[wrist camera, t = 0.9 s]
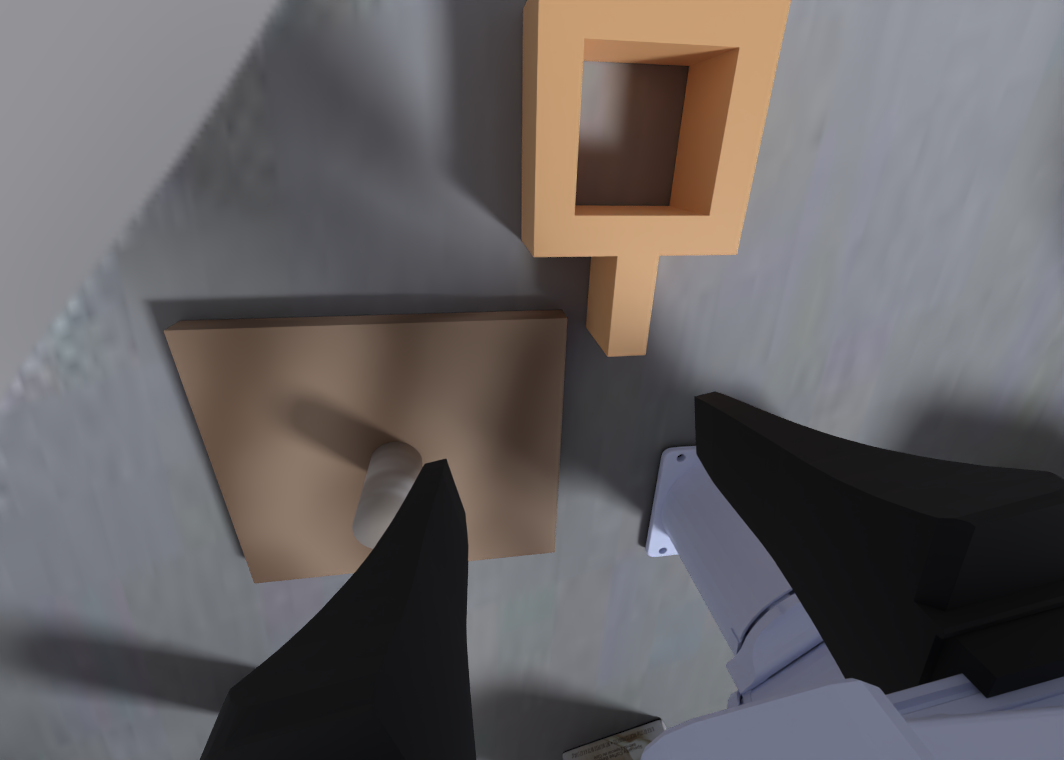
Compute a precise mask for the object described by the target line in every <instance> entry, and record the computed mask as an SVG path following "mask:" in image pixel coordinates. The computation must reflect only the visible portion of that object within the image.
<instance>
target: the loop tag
mask: <svg viewBox="0 0 1064 760" xmlns="http://www.w3.org/2000/svg"><path fill="white" fill-rule="evenodd" d="M790 3H791V0H527V2H526V4H525V6H524V8H523V83H522V221H521V241H522V242H523V243H524V245H525V246H526V247H527V249H528V250H529V251H530V253H531V254H532V255H533V257H588V256H591V265H590V279H589V292H588V306H587V319H586V328H587V330H588V331H589V332H590V334H591V335H592V336H593V338H594V339H595V340H596V342H597V343H598V344H599V346H600V347H601V348H602V350H603V351H604V352H605V354H606V355H607V357H614V356H637V355H646V348H647V341H648V333H649V326H650V319H651V312H652V305H653V297H654V290H655V283H656V276H657V269H658V261H659V256H672V255H737V252H738V247H739V242H740V238H741V233H742V228H743V224H744V219H745V214H746V210H747V205H748V200H749V195H750V191H751V186H752V181H753V177H754V172H755V167H756V163H757V158H758V153H759V148H760V144H761V139H762V134H763V130H764V125H765V120H766V116H767V111H768V106H769V101H770V97H771V92H772V87H773V83H774V78H775V73H776V69H777V64H778V59H779V54H780V50H781V45H782V40H783V36H784V31H785V26H786V22H787V17H788V12H789V8H790ZM583 61H598V62H618V63H638V64H658V65H679V66H689V71H688V78H687V85H686V92H685V99H684V107H683V114H682V121H681V128H680V135H679V142H678V149H677V156H676V163H675V170H674V177H673V184H672V191H671V198H670V205H669V206H597V205H575V198H576V180H577V162H578V144H579V127H580V109H581V91H582V73H583Z"/></svg>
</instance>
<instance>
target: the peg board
mask: <svg viewBox="0 0 1064 760" xmlns="http://www.w3.org/2000/svg"><path fill="white" fill-rule="evenodd" d="M567 319H568V318H567V317H566V315H565V314H564V312H563V311H562V310H536V311H501V312H466V313H431V314H396V315H361V316H325V317H290V318H255V319H220V320H185V321H179V322H177V323H175V324H174V325H172V326H170V327H169V328H167V329H165V330H164V334H165V336H166V339H167V342H168V345H169V348H170V350H171V353H172V356H173V359H174V361H175V364H176V367H177V370H178V373H179V375H180V378H181V381H182V384H183V386H184V389H185V392H186V395H187V398H188V400H189V403H190V406H191V409H192V411H193V414H194V417H195V420H196V423H197V425H198V428H199V431H200V434H201V436H202V439H203V442H204V445H205V448H206V450H207V453H208V456H209V459H210V461H211V464H212V467H213V470H214V473H215V475H216V478H217V481H218V484H219V486H220V489H221V492H222V495H223V498H224V500H225V503H226V506H227V509H228V511H229V514H230V517H231V520H232V523H233V525H234V528H235V531H236V534H237V536H238V539H239V542H240V545H241V548H242V550H243V553H244V556H245V559H246V561H247V564H248V567H249V570H250V573H251V575H252V578H253V581H254V583H263V582H272V581H282V580H292V579H301V578H311V577H321V576H330V575H340V574H349V573H355V572H356V570H357V569H358V568H359V567H360V565H361V564H362V563H363V562H364V560H365V559H366V558H367V557H368V555H369V554H370V553H371V551H372V550H373V548H374V547H375V546H376V544H377V543H378V541H379V540H380V538H381V537H382V535H383V534H384V532H385V531H386V529H387V528H388V526H389V525H390V523H391V522H392V520H393V518H394V517H395V515H396V513H397V512H398V510H399V508H400V507H401V505H402V503H403V501H404V500H405V498H406V496H407V494H408V493H409V491H410V489H411V487H412V485H413V484H414V482H415V480H416V478H417V476H418V474H419V473H420V471H421V469H422V467H423V466H424V464H426V463H430V462H434V461H438V460H442V459H447V462H448V465H449V468H450V470H451V473H452V476H453V479H454V482H455V485H456V487H457V490H458V493H459V496H460V499H461V502H462V504H463V507H464V510H465V513H466V523H467V533H468V545H469V549H468V561H475V560H484V559H494V558H503V557H513V556H523V555H532V554H542V553H552V552H555V538H556V520H557V502H558V483H559V465H560V447H561V429H562V410H563V392H564V374H565V355H566V337H567Z"/></svg>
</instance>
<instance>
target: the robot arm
mask: <svg viewBox="0 0 1064 760" xmlns="http://www.w3.org/2000/svg"><path fill="white" fill-rule="evenodd" d="M695 429H696V446H686V447H673V448H668V449H666V450H665V451H664V452H663V453H662V456H661V461H660V467H659V473H658V479H657V484H656V490H655V496H654V502H653V507H652V513H651V519H650V525H649V530H648V536H647V542H646V547H645V549H646V552H647V554H648V555H649V556H650V557H658V556H667V555H676V554H679V556H680V558H681V560H682V562H683V563H684V565H685V567H686V569H687V571H688V572H689V574H690V576H691V578H692V580H693V581H694V583H695V585H696V587H697V589H698V590H699V592H700V594H701V596H702V598H703V600H704V601H705V603H706V605H707V607H708V609H709V610H710V612H711V614H712V616H713V618H714V619H715V621H716V623H717V625H718V627H719V628H720V630H721V632H722V634H723V636H724V637H725V639H726V641H727V643H728V645H729V646H730V648H731V650H732V652H733V654H734V656H735V657H734V658H733V659H732V660H730V661H729V662H728V663H727V664H726V667H727V669H728V671H729V673H730V675H731V677H732V679H733V681H734V683H735V684H736V686H737V688H738V691H736V692H734V693H733V694H731V696H730V697H729V699H728V706H727V709H725V710H722V711H718V712H714V713H711V714H707V715H704V716H700V717H697V718H693V719H690V720H688V721H686V722H683V723H681V724H679V725H676V726H674V727H672V728H669V729H667V730H665V731H663V732H662V733H661V734H660V735H659V736H657V737H656V738H655V739H654V740H653V741H652V742H650V743H649V744H648V745H647V746H646V747H645V749H644V751H643V753H642V756H641V759H640V760H1064V479H1062V478H1060V477H1058V476H1057V475H1055V474H1053V473H1050V472H1045V471H1034V470H1023V469H1012V468H1001V467H990V466H981V465H973V464H966V463H959V462H952V461H945V460H938V459H933V458H927V457H921V456H915V455H910V454H906V453H901V452H896V451H891V450H886V449H882V448H877V447H873V446H869V445H865V444H861V443H858V442H854V441H850V440H847V439H843V438H839V437H836V436H833V435H829V434H826V433H823V432H820V431H817V430H814V429H811V428H808V427H805V426H803V425H800V424H797V423H794V422H792V421H789V420H786V419H784V418H781V417H778V416H776V415H773V414H771V413H768V412H766V411H763V410H761V409H758V408H756V407H754V406H751V405H749V404H746V403H744V402H741V401H739V400H737V399H734V398H732V397H729V396H726V395H724V394H721V393H718V392H711V393H707V394H703V395H699V396H695ZM681 454H682V456H681V457H678V456H679V455H681ZM677 457H678V458H677ZM468 549H469V545H468V533H467V523H466V513H465V510H464V507H463V504H462V502H461V499H460V496H459V493H458V490H457V487H456V485H455V482H454V479H453V476H452V473H451V470H450V468H449V465H448V462H447V459H442V460H438V461H434V462H430V463H426V464H424V466H423V467H422V469H421V471H420V473H419V474H418V476H417V478H416V480H415V482H414V484H413V485H412V487H411V489H410V491H409V493H408V494H407V496H406V498H405V500H404V501H403V503H402V505H401V507H400V508H399V510H398V512H397V513H396V515H395V517H394V518H393V520H392V522H391V523H390V525H389V526H388V528H387V529H386V531H385V532H384V534H383V535H382V537H381V538H380V540H379V541H378V543H377V544H376V546H375V547H374V548H373V550H372V551H371V553H370V554H369V555H368V557H367V558H366V559H365V560H364V562H363V563H362V564H361V565H360V567H359V568H358V569H357V570H356V572H355V573H354V574H353V575H352V576H351V578H350V579H349V580H348V581H347V582H346V583H345V584H344V585H343V587H342V588H341V589H340V590H339V591H338V592H337V593H336V594H335V595H334V596H333V597H332V598H331V600H330V601H329V602H328V603H327V604H326V605H325V606H324V607H323V608H322V609H321V610H320V611H319V612H318V613H317V614H316V615H315V616H314V617H313V618H312V619H311V620H310V621H309V622H308V623H307V624H306V625H305V626H304V627H303V628H302V629H301V630H300V631H299V632H298V633H296V634H295V635H294V636H293V637H292V638H291V639H290V640H289V641H288V642H287V643H286V644H284V645H283V646H282V647H281V648H280V649H279V650H278V651H276V652H275V653H274V654H273V655H272V656H270V657H269V658H268V659H267V660H266V661H264V662H263V663H262V664H261V665H260V666H258V667H257V668H256V669H255V670H254V671H252V672H251V673H250V674H249V675H247V676H246V677H245V678H244V679H243V680H241V681H240V682H239V683H238V684H236V685H235V686H234V687H232V688H231V689H230V691H229V693H228V695H227V697H226V700H225V702H224V704H223V706H222V708H221V710H220V713H219V715H218V717H217V720H216V722H215V724H214V727H213V729H212V732H211V734H210V736H209V739H208V741H207V744H206V746H205V748H204V751H203V753H202V756H201V758H200V760H476V752H475V741H474V730H473V720H472V707H471V695H470V683H469V669H468V654H467V636H466V617H467V586H468Z"/></svg>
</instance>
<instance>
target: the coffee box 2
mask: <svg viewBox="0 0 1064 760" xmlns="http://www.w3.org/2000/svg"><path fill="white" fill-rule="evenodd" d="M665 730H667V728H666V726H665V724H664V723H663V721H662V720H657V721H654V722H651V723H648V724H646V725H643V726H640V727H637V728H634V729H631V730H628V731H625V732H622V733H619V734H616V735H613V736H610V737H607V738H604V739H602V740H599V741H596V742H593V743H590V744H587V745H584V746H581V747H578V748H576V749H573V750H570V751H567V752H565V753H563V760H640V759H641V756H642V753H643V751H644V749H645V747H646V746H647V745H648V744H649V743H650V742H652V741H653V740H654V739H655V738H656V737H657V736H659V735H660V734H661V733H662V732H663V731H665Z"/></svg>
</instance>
